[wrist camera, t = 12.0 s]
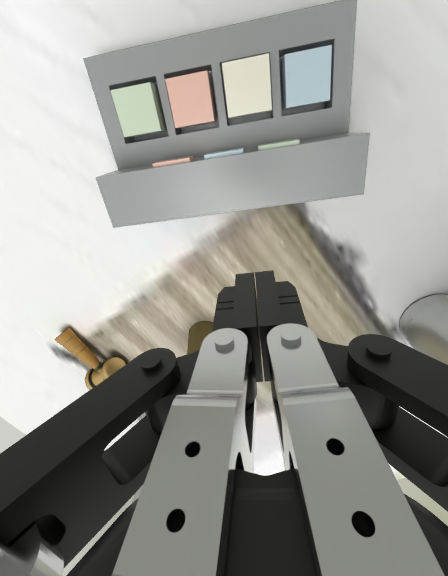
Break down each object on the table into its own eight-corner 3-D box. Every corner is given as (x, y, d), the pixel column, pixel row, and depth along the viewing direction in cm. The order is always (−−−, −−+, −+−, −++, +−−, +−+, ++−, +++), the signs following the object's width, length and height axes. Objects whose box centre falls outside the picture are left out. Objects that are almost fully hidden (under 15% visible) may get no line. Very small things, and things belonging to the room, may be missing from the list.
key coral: (211, 77, 28) (206, 70, 25) (217, 121, 30) (214, 121, 27) (174, 84, 29) (165, 78, 26) (182, 128, 31) (175, 128, 28)
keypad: (342, 13, 26) (386, -39, 18) (334, 178, 34) (363, 194, 25) (102, 66, 30) (47, 42, 21) (142, 205, 37) (113, 227, 29)
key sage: (160, 87, 29) (149, 82, 26) (169, 130, 31) (161, 130, 28) (125, 94, 30) (110, 90, 26) (136, 136, 32) (123, 137, 28)
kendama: (58, 337, 52) (126, 398, 56) (36, 354, 46) (113, 422, 50) (85, 313, 51) (153, 378, 55) (66, 328, 45) (143, 400, 49)
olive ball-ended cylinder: (183, 324, 47) (168, 374, 37) (217, 318, 46) (210, 367, 36) (195, 350, 50) (183, 402, 40) (227, 345, 48) (223, 397, 39)
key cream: (266, 62, 26) (268, 53, 23) (268, 112, 28) (272, 109, 25) (224, 71, 27) (221, 63, 23) (230, 118, 29) (228, 117, 25)
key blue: (321, 54, 27) (331, 44, 24) (320, 103, 29) (329, 100, 26) (280, 63, 27) (284, 54, 24) (281, 110, 29) (286, 108, 26)
